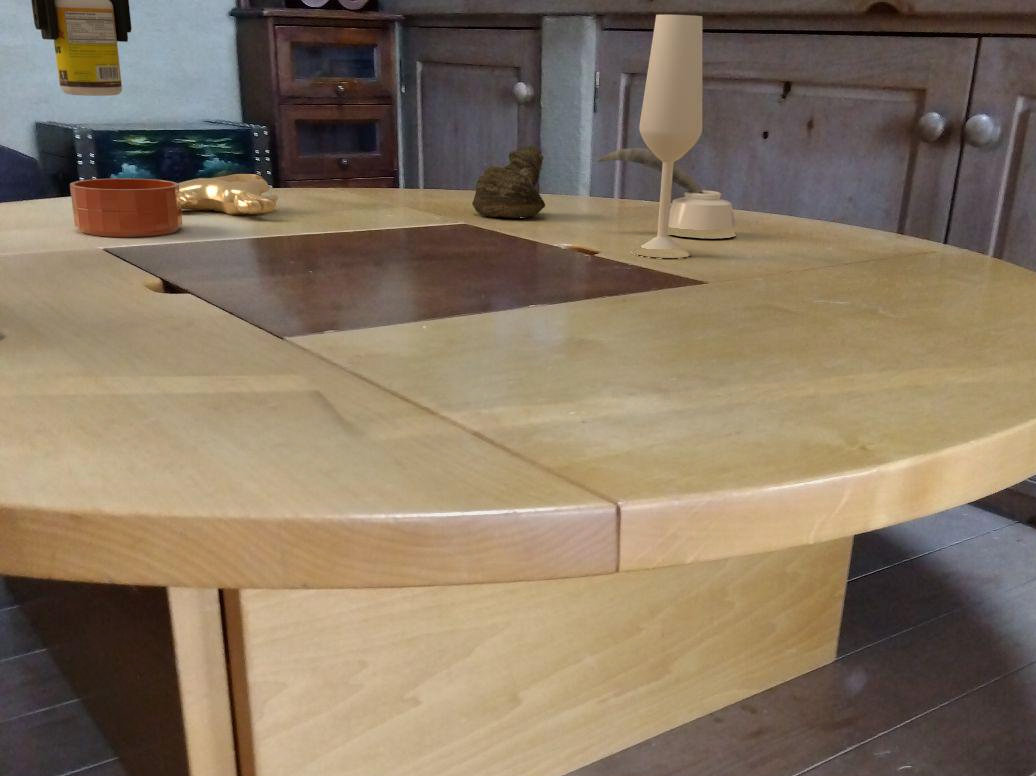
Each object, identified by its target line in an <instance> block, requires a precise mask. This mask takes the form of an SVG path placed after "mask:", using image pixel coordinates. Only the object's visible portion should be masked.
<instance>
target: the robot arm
mask: <svg viewBox="0 0 1036 776" xmlns="http://www.w3.org/2000/svg"><path fill="white" fill-rule="evenodd" d="M30 1H31V9H32V10H31V11H32V17H33V23H34V27H35V30H40V33H41V38H42V39H43V40H51V41H52V40H53V41H54V40H57V38H59V33H58V26H57V18H56V10H55V2H54V0H30ZM109 1H110V2H111V3H112V5H113V10H114V19H115V28H116V37H117V42H120V43H121V42H123V43H128V42H129V35H128V34H129V33H131V32H132V19H131V18H132V17H131V11H130V1H129V0H109Z"/></svg>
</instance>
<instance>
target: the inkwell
mask: <svg viewBox="0 0 1036 776" xmlns="http://www.w3.org/2000/svg"><path fill="white" fill-rule="evenodd" d="M610 161H618V162H619V161H621V162H622V161H627V162H630V163H636V164H641V165H643V166H644V167H647V168H650V169H653V170H656V171H659V172H661V173H662V165H663V162H662V161H661V160H660V159H658V158H657V157H656V156H655V155H654V154H653V152H652V151H651V150H650V149H649V148H643V147H631V148H630V147H629V148H628V147H627V148H621V149H617V150H614V151H611V152H608V153H607V154H604V155H603V156H602V157H601V158H599V159H598V160H597V161H596V163H602V162H603V163H604V162H610ZM673 182H674V183H676V184H678V186H679V187H681V188H683V189H686V190H685V191H683V196H681V197H676V198H673V199H672V200H671V202H670V214H669V227H671V228H679V229H693V230H714V229H726V228H731V227H734V226H735V227H736V221H735V217H734V216H735V215H734V209H733V205H732V203H731V201H729V200H726V199H723V198H721V197H722V193H721V192H720V191H715V190H706V189H702V188H701V186H700V184H699V183H698V182H697V181H696V179H694V178H693V176H692V175H690V174H689V172H687V171H686V169H684V168H683V167H682V166H681V165H679V163H677V162H676V161H675V162H674V163H673V176H672V183H673Z"/></svg>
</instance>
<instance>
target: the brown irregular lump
mask: <svg viewBox="0 0 1036 776" xmlns="http://www.w3.org/2000/svg"><path fill="white" fill-rule="evenodd" d="M508 160H509V164H508V165H505V166H504V167H502V166H491V167H488V168H486V169H484V171H483V175H479V177H478V179H477V181H476V186H475V194H474V197H473V200H472V202H471V206H472V207H473V208H474V210H475V212H477V214H479V215H481V216H482V217H485V216H488V217H487V218H506V219H507V218H508V219H509V218H510V219H513V218H520V217H528V218H530V217H529V216H531V217H534V215H535V216H537V215H538V214H539V213H540V212H541V211H542V210H543V209H544V208H546V203H545V201H544V199H543V197H542V196H541V194H540V192H539V191H538V190H537V189H536V186H537V184H538V182H539V178H540V173H541V170H542V166H543V160H544V156H543V154H542V151H541V149H540V147H539V146H534V145H526V146H525V147H524V148H522V149H520V150H515V151H511V152H510V153H509V154H508Z"/></svg>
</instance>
